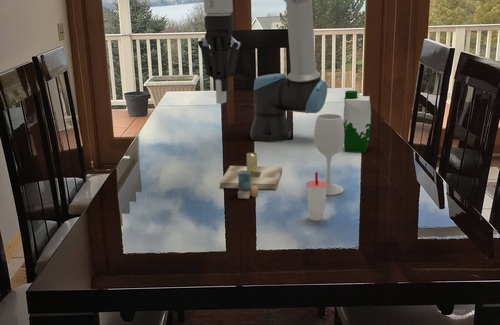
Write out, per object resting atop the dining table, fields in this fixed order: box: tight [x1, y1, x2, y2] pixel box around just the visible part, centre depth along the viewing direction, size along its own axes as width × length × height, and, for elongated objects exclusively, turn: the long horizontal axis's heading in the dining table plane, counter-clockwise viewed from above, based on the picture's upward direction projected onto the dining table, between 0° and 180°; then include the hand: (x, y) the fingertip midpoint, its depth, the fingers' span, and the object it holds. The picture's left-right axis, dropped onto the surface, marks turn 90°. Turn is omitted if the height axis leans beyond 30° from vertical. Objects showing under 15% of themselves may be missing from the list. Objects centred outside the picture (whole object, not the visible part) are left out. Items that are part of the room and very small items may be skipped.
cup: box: [305, 171, 328, 222], centre depth 150 cm, size 5×5×12 cm
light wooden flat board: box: [219, 165, 283, 200], centre depth 176 cm, size 16×24×6 cm, turn 171°
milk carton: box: [342, 90, 372, 154], centre depth 208 cm, size 9×9×20 cm
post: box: [246, 152, 258, 177], centre depth 180 cm, size 3×3×8 cm
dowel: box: [250, 186, 259, 198], centre depth 168 cm, size 2×2×3 cm
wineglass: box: [313, 113, 345, 196], centre depth 168 cm, size 9×9×21 cm
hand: (221, 102), depth 169 cm, fingers closed
